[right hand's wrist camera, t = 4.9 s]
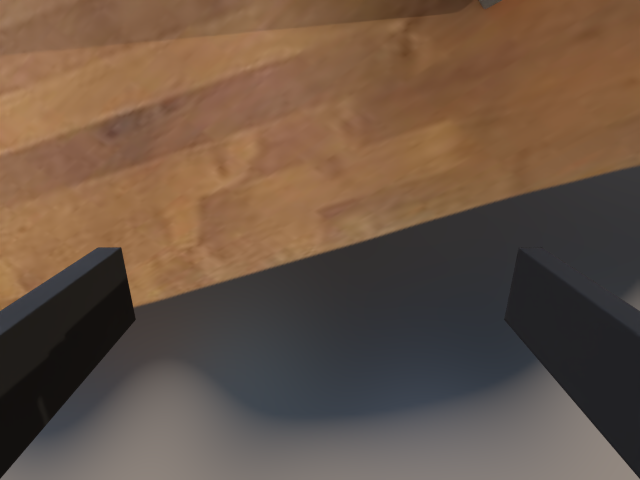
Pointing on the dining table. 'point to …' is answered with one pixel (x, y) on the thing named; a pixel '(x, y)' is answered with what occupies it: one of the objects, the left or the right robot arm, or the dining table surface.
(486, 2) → the hard drive box
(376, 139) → the dining table surface
